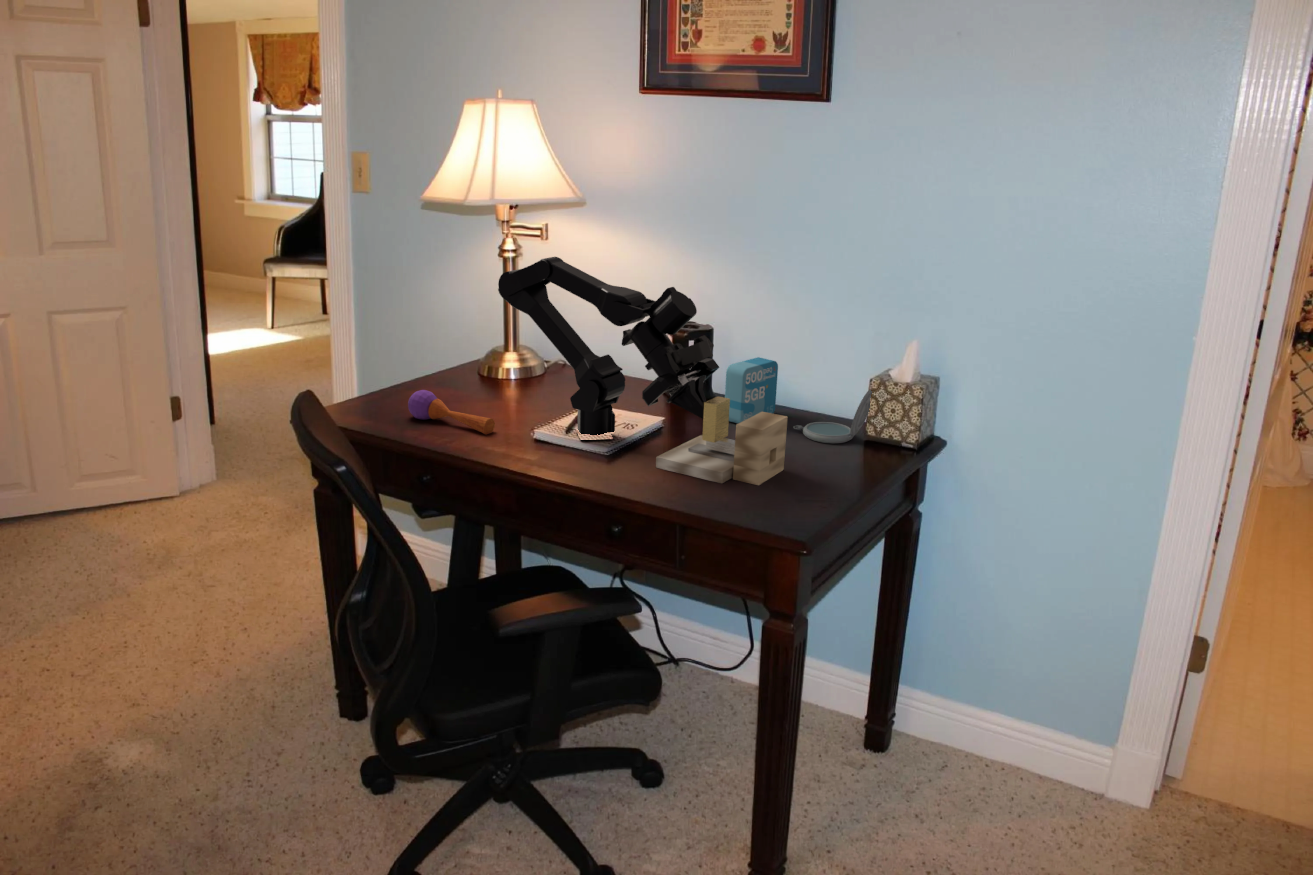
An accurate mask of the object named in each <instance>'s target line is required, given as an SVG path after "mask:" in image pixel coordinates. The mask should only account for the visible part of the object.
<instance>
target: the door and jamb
mask: <svg viewBox="0 0 1313 875" xmlns="http://www.w3.org/2000/svg"><path fill="white" fill-rule="evenodd" d="M788 418H789V417H788V416H787V415H782V414H776V413H773V414H772V413H767V412H760V413H758V414H756V415H754V416H752V417H750V418H748V419H746V420H744V421H742V422H740V423H739V424H738V423H736V424H735V435H734V436H735V439H734V440H735V453H734V455H733V454H728V453H724V452H719V451H715V450H711V449H706V441H705V440H702V437H703V434H700V435H698V436H696V437H694V438H692V439H690V440H688V441H686V442H683V443H682V444H680V445H678V446H676V447H673V448H671V449H670V450H667V451H666V452H664V453H662V454H660V455H657V456H656V457H655V468H656V469H661V470H664V471H669V472H673V473H677V474H681V475H685V476H690V477H694V478H698V479H702V480H706V481H709V482H713V483H714V482H715V483H718V484H723V483H725V482H727V481H729V480H731V479H732V480H735V481H738V482H742V483H747V484H750V485H751V484H752V485H755V486H760V485H762V484H763V483H765V482H766V481H768V480H770V479H771V478H773V477H775V476H776V475H777V474H779V473H781V472H782V471H783V470H784V469H785V459H786V458H785V457H786V456H785V455H786V445H787V444H786V443H787V441H786V440H787V431H788V430H787V428H788Z"/></svg>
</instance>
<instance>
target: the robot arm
mask: <svg viewBox="0 0 1313 875" xmlns="http://www.w3.org/2000/svg"><path fill="white" fill-rule="evenodd" d="M550 283H552V284H554V285H555V286H557V287H559V288H561V289H563V290H565V291H566V292H569V293H571V294H572V295H574V296H576V297H578V298H581V299H582V300H583V301H585V302H587V303H590V304H591V305H593V306H594V307H595V308H597V310H598V312H599V314H600V315H601V316H602V317H603V318H605V319H606V320H608V322H610V323H611V324H612V325H614V326H616V327H625V326H627V325H631V324H635V323H636V324H635V325H634V326H633V327H632V328H628V329H625V330H623V331H622V339H621V346H622V347H624V346H628V345H632V344H634V346H635V347H636V348H637V349H638V351H639V353H640V354H641V355H642V357H644V359H645V361H646V362H647V363H646V365H644V367H645V368H646V370H647V371H650V370H653V372H654V373H655V374H656V375H657V377H655V379H654V380H653V381H652V382H650V384H648V385H647V387H645V388H644V389H643V390H642V394H641V395H642V398H641V399H642V400H643V401H644V402H645V404H646V405H647V407H651V406H654V405H655V404H657V403H658V402H659V398H660V397H661V396H662V395H664V393H667V392H668V394H669V396H670V397H669V398H668V399H667V400H666V403H668V404H670V403H671V404H673V405H675V406H677V407H679V408H681V409H684V410H685V411H687V412H688V413H689V412H690V413H691V414H692V415H695V416H696V417H698V418H700V419H703V416H704V402H706V401H707V399H706V396H705V392H704V383H705V381H706V380H707V379H709V378H710V377H711V376H712V375H713V374H714V373H715V372H716V371H717V370H718V369H719V368H720V366H719V364H718V363H717V362H716V360H715V359H714V358H712V357H714V355H713V352H712V351H713V349H714V347H715V345H714V343H713V342H711V340H710V339H709V338H708V337H707V335H704V334H703V335H702V336H699V337H696V338H693V344H691V345H688V346H686V347H684V346H683V345H682V344H681V343H679V342H676V343H673V342H672V340H671V339H670V337H669V336H668V335H670V336H675V335H677V333H678V332H679V331H680V330H681V329H682V328H683V327H684V326H685V325H687V323H688V322H690V321H691V320H692V319H693V318H694V317H695V316H697V312H698V311H697V307H696V305H695V303H694V301H693V300H692V299H691V298H690V297H688V296H687V295H686V294H684V293H683V292H680V291H678V290H677V289H676V288H675V286H671V287H667V288H666V289H665V290H664V291H663V292H662V294H661V295H660V297H658V298H657V300H653V299H651V298H647V296H646V295H645V294H644V293H642V292H641V291H639V290H637V289H632V288H628V287H624V286H619V285H618V286H617V285H611V284H609V283H606V282H604V281H602V280H601V279H599V278H597V277H595V276H592V275H591V274H589V273H587V272H585V271H583V270H581V269H579V268H577V267H576V266H573V265H571V264H569V263H567V262H565V260H563V258H561V257H558V256H551V257H545V258H541V259H539V260H538V261H536V262H534V263H532V264H530V265H528V266H525V267H523V268H520V269H513V270H509V271H505V272H503V273H502V274H501V275H500V277H499V279H498V284H497V285H498V288H497V291H498V294H499V295H500V297H502V299H503V300H505V302H507V303H508V304H509V305H510V306H511V307H512V308H514V309H516V310H518V311H520V312H522V313H524V314H526V315H528V316H529V317H530V318H531V320H532V321H533V322H534V323H535V325H536V326H537V327H538V328H539V329H540V330H541V331H542V333H543V334H544V336H545V337H546V338H547V339H548V340H549V341H550V343H552V345H553V346H554V347H555V348H556V350H557V351H558V352H559V353H560V354H561V356H562V357H563V359H565V360H566V362H567V363H568V364H569V366H570V367H571V368H572V369H573V370H574V376H575V382H576V385H577V386H578V388H579V389H578V390H576V392H574V393H573V394H572V395H571V396H570V397H569V399H570V403H571V407H572V409H574V410H577V429H578V430H579V432H580V433H581V434H590V435H597V434H598V435H600V434H604V433H607V432H614V431H616V414H615V412H614V411H613V404H617V403H618V401H619V399H620V397H621V395H622V394H623V393H624V391H625V387H626V377H625V375H624V374H623V372H622V371H623V368H622V367H620V366H619V365H618V364H617V363H616V362H615V360H614V359H613V356H611V355H610V354H604V355H602V356H599V355H597V354H595V353H594V352H593V350H591V348H590V347H589V345H587V344H586V342H585V341H584V340H583V338H581V337H580V335H579V333H577V331H575V329H574V328H573V327H572V326H571V325H570V323H569V322H568V321H567V319H565V317H564V316H563V315H562V314H561V313H560V312H559V310H558V309H557V307H555V305H554V304H553V303H552V302H551V301H550V299H549V295H548V289H547V288H548V287H547V285H548V284H550ZM646 317H648V318H647V319H646V320H645V321H644V319H645V318H646Z"/></svg>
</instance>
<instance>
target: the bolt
mask: <svg viewBox="0 0 1313 875" xmlns="http://www.w3.org/2000/svg"><path fill="white" fill-rule="evenodd" d="M729 408H730V399H729V398H725V396H724V397H723V396H715V397H713V398H711V399H709V400H706V402H704V416H703V420H702V436H703V437H702V440H705V441H706V449H711V450H715V451H719V452H724V453H728V454H733V455H734V453H735V439H730V438H726V437H729V424H730V421H729Z"/></svg>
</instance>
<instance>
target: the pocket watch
mask: <svg viewBox="0 0 1313 875" xmlns="http://www.w3.org/2000/svg"><path fill="white" fill-rule="evenodd" d="M871 394H872V391H871V390H870V389H868V391H866V393H865V394H864V396H863V397H862V399H861V401H860V403H859V405H858V406H857V409H856V412H855V413H854V415H853V418H852V422H851V426H850V427H849V426H848V425H845V424H842V423H838V422H832V421H815V422H810V423H807V424H805V426H803V425H798V424H797V425H793V429H794V430H799V431H801V430H802V433H803V435H804V436H805V437H806V438H808V439H809V440H811V441H814V442H817V443H822V444H842V443H844V444H845V443H846V442H849V441H850V440H852V439H853V438H854V436H856V434H858V432H859V431H860V430H861V428H862V426H864V423H865V421H866V419H867V418H868V415H869V413H870V411H869V408H870V398H871ZM870 409H871V408H870ZM868 412H869V413H868Z"/></svg>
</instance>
